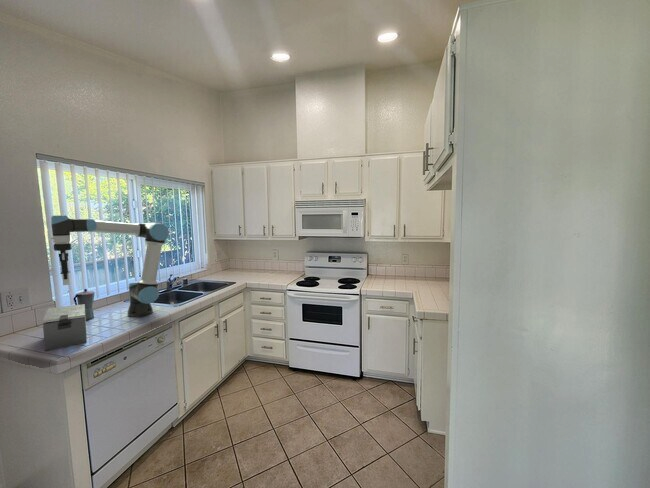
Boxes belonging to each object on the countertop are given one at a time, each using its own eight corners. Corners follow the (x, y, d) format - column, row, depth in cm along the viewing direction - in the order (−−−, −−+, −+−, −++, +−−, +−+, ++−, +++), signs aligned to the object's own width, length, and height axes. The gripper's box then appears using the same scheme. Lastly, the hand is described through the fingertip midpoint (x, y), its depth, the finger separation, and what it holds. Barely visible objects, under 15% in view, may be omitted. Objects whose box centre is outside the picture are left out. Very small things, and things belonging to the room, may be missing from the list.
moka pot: (101, 315, 206) (99, 286, 204) (84, 322, 190) (82, 292, 188) (87, 315, 205) (85, 286, 204) (68, 323, 190) (66, 292, 188)
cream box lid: (84, 306, 179) (84, 301, 179) (84, 321, 153) (84, 316, 152) (47, 310, 168) (47, 306, 168) (40, 327, 142) (40, 322, 142)
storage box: (86, 328, 180) (84, 306, 179) (86, 345, 156) (84, 319, 155) (49, 335, 170) (47, 311, 168) (44, 354, 146) (41, 327, 145)
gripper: (54, 242, 168) (58, 283, 170) (52, 244, 158) (56, 287, 160) (71, 241, 173) (75, 281, 175) (71, 243, 163) (74, 285, 165)
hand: (66, 284), depth 167 cm, fingers closed
